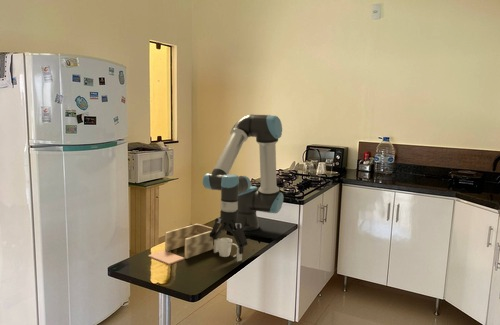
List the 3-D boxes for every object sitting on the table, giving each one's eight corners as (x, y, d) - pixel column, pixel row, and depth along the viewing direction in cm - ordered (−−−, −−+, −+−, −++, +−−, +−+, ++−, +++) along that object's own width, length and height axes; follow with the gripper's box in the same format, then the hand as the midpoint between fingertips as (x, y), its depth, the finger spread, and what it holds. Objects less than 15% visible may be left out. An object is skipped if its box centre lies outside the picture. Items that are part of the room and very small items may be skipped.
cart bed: (196, 242, 191) (197, 223, 189) (217, 249, 182) (218, 229, 181) (165, 253, 175) (165, 232, 174) (186, 261, 166) (186, 239, 165)
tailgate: (164, 249, 174) (148, 255, 167) (185, 257, 166) (169, 263, 159) (164, 252, 174) (148, 257, 167) (185, 260, 166) (169, 266, 159)
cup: (220, 253, 177) (220, 236, 176) (240, 257, 174) (241, 239, 173) (214, 259, 170) (214, 241, 169) (235, 262, 167) (235, 244, 166)
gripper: (202, 206, 174) (201, 252, 176) (246, 217, 159) (244, 266, 161) (214, 203, 180) (212, 247, 182) (256, 213, 165) (254, 261, 167)
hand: (227, 256), depth 172 cm, fingers open, 13 cm apart
